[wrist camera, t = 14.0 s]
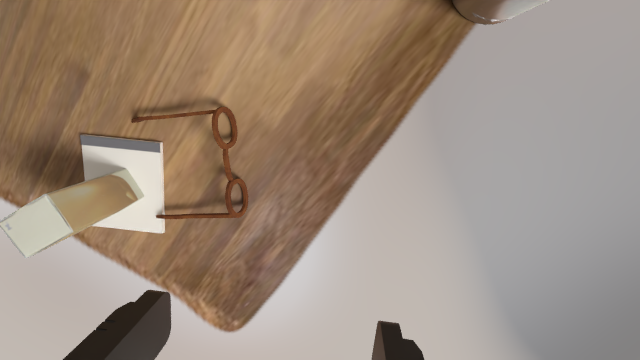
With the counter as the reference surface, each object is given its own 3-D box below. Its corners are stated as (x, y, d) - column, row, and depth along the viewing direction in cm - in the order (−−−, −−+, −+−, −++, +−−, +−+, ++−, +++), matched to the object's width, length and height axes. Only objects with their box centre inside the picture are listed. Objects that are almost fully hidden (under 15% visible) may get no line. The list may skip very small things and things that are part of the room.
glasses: (251, 208, 43) (239, 222, 38) (155, 216, 44) (133, 231, 39) (234, 106, 40) (219, 107, 35) (132, 117, 41) (104, 119, 36)
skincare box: (109, 217, 43) (22, 262, 31) (89, 188, 43) (-8, 224, 31) (148, 195, 42) (73, 233, 30) (128, 165, 41) (43, 193, 30)
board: (84, 134, 41) (80, 135, 41) (162, 142, 41) (159, 143, 40) (92, 223, 44) (88, 225, 44) (165, 231, 44) (162, 233, 43)
